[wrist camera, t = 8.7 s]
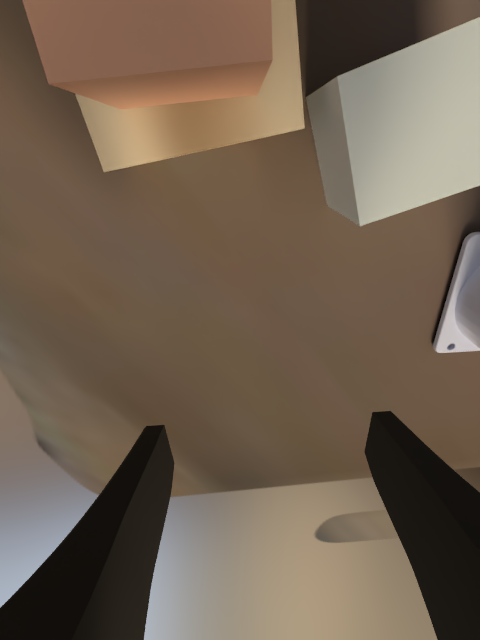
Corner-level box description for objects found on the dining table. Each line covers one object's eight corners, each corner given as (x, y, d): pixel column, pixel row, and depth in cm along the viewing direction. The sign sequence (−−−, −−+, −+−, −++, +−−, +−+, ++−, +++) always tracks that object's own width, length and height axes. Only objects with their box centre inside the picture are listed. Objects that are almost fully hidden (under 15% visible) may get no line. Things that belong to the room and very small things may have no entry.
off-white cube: (416, 52, 14) (503, 7, 9) (422, 171, 16) (493, 180, 12) (305, 97, 14) (337, 76, 10) (326, 205, 17) (360, 226, 12)
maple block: (264, -120, 11) (277, -239, 8) (288, 132, 15) (304, 128, 12) (58, -62, 12) (-15, -148, 8) (132, 166, 16) (104, 172, 12)
